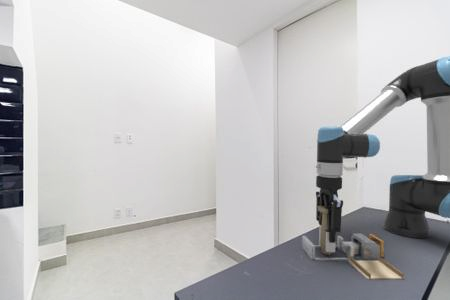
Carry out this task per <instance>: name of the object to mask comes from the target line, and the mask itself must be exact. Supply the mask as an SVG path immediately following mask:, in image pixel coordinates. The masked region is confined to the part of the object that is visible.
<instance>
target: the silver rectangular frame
mask: <svg viewBox="0 0 450 300" xmlns="http://www.w3.org/2000/svg"><path fill="white" fill-rule="evenodd" d="M336 236H337V237H336V244H335V249H338V250H339V251H342V250H341V242H344V238H343V237H342V236H341V235H336ZM301 248H302V250H303V251H304V252H305V253H306V255H308V258H310V260H315V261H350V257H352V258H353V259H354V257H355V254H354V246H353V245H351V244H347V254H346V257H316V248H317V249H318V248H321V249H322V247H321V246H320V245H319V244H318V245H314V243H313V242H312V241H311V240H310V239H309V238H308V237H307V236H306V235H301ZM354 260H355V259H354Z"/></svg>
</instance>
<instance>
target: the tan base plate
mask: <svg viewBox="0 0 450 300" xmlns="http://www.w3.org/2000/svg"><path fill="white" fill-rule="evenodd" d="M347 261H348V263H349V264H350V265H351V266H352V267H354V269H356V270H357V271H358V273H360V275H362V276H363V277H364V278H365V279H366V280H377V281H378V280H405V279H406V277H405V275H404V273H403V272H401V270H399V269H398V268H397V267H394V266H393V264H391V263H389V262H388V261H387V260H385V259H383V258H382V257H378V259H377V260H356V259H353V258H352V257H350V260H347Z"/></svg>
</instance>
